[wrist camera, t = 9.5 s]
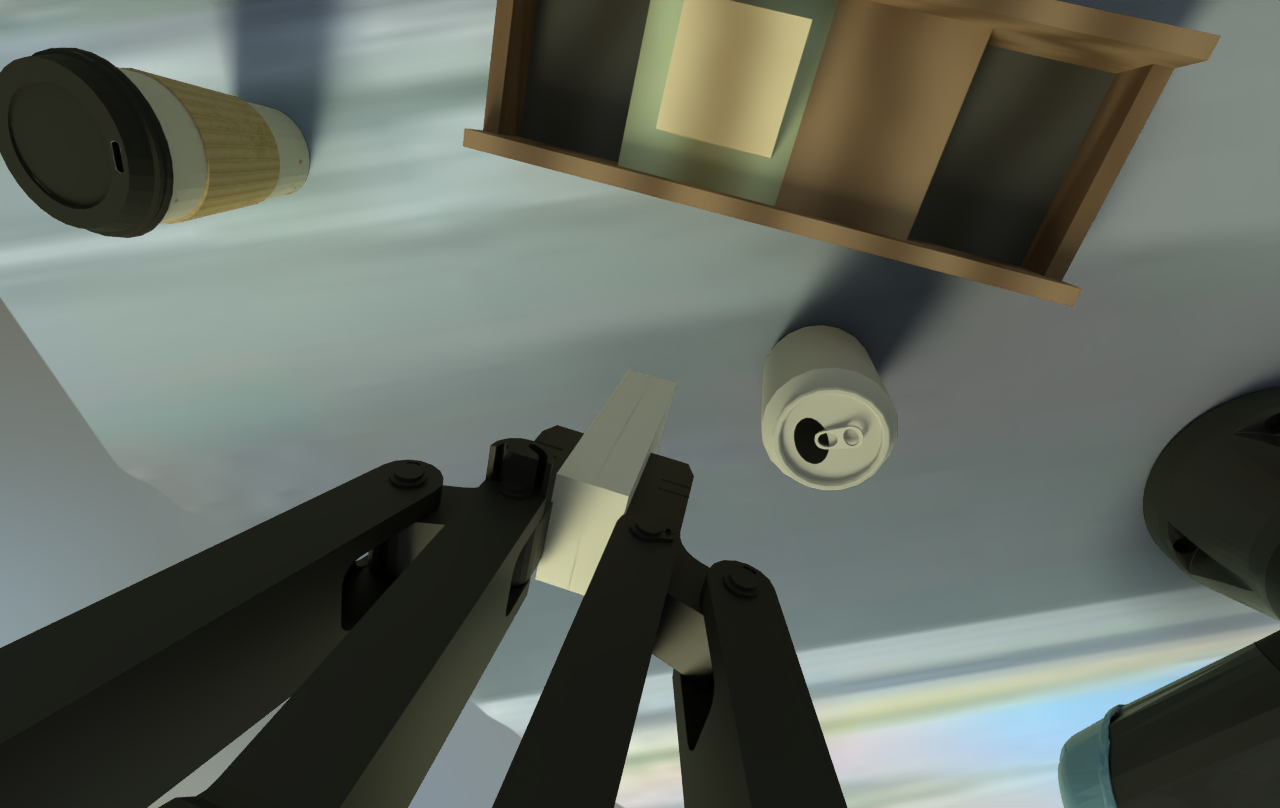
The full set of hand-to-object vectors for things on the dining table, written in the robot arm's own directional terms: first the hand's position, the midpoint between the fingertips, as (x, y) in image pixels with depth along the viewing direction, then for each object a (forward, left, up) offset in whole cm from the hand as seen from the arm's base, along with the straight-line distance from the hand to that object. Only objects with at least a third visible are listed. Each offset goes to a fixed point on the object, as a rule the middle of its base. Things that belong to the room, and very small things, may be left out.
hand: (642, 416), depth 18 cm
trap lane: (-2, -11, -26) cm, 29 cm away
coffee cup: (+35, 0, -27) cm, 44 cm away
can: (-9, +5, -27) cm, 29 cm away
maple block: (+1, -11, -22) cm, 25 cm away
